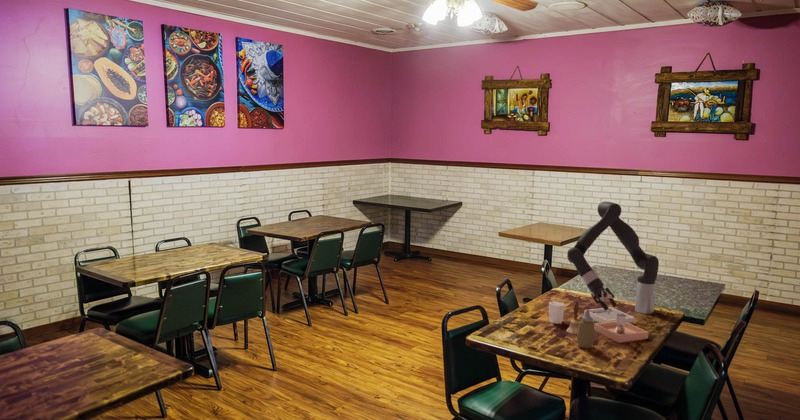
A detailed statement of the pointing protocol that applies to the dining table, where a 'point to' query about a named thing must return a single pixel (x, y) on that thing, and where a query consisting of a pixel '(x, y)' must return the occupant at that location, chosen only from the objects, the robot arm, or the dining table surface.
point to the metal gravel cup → (620, 323)
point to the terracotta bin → (629, 335)
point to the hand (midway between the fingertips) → (611, 308)
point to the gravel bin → (607, 315)
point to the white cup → (556, 312)
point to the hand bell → (574, 321)
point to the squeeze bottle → (586, 331)
